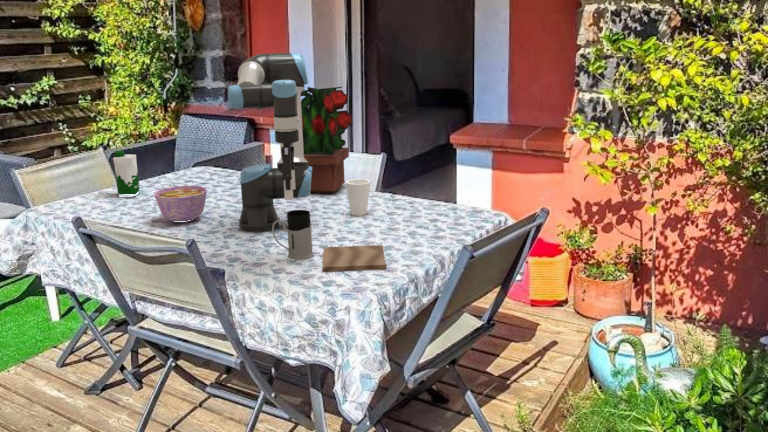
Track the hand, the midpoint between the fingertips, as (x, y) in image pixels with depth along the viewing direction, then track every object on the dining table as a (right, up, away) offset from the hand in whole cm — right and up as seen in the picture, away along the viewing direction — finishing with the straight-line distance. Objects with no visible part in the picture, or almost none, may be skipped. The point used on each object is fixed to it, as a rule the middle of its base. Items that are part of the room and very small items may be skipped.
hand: (290, 194), depth 254 cm
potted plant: (+3, +4, +94) cm, 94 cm away
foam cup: (+21, -6, +56) cm, 60 cm away
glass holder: (0, -21, +6) cm, 22 cm away
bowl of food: (-48, -9, +53) cm, 72 cm away
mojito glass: (-83, +2, +93) cm, 124 cm away
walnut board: (+21, -22, +2) cm, 30 cm away
